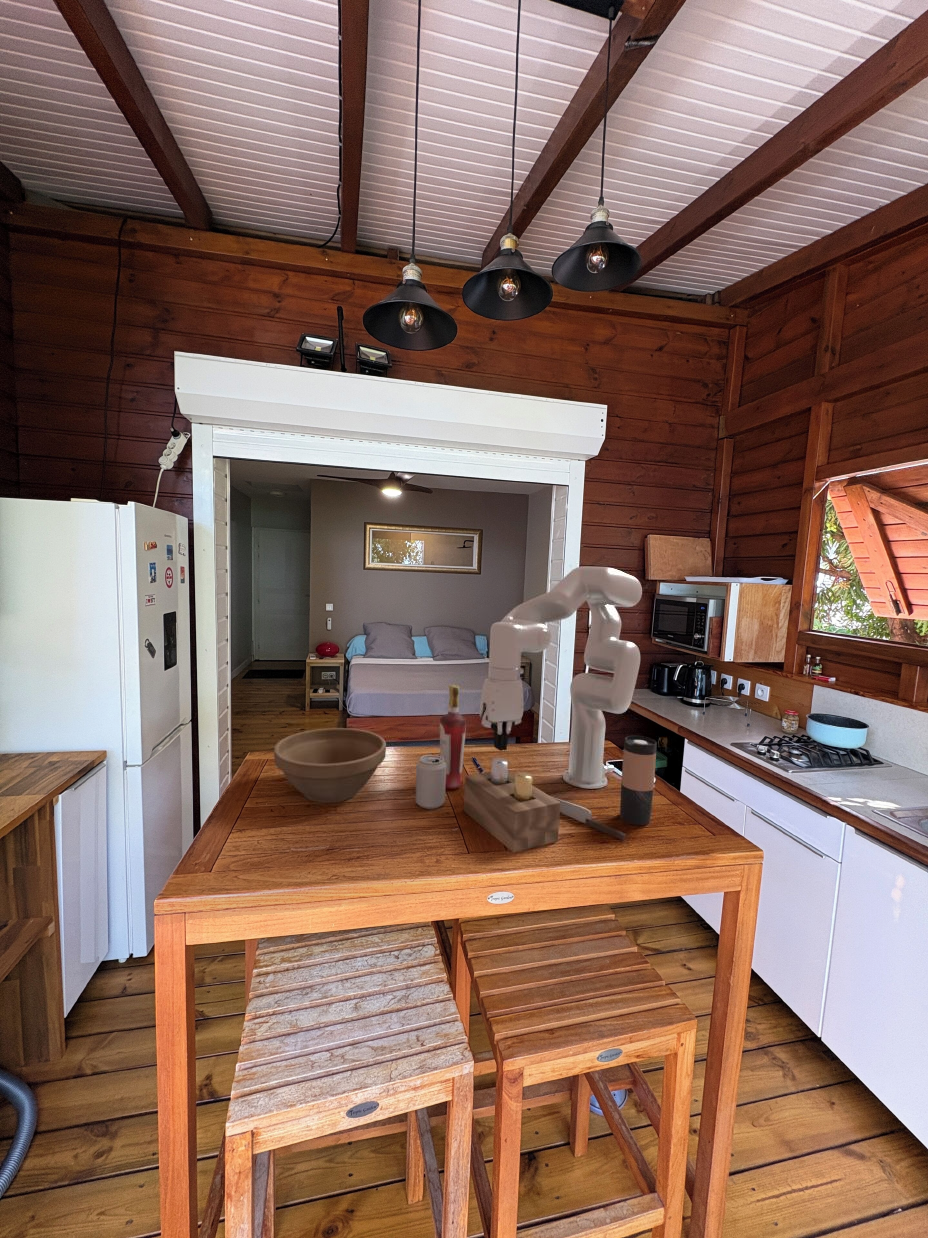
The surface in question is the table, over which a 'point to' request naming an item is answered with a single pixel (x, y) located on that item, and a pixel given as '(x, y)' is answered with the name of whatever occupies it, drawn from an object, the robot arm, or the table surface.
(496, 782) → the steel peg
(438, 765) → the can
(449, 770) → the liquor
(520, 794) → the brass peg
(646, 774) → the travel mug
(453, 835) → the table surface
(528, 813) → the socket block
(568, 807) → the kitchen knife
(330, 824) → the table surface
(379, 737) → the brown mixing bowl
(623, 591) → the robot arm
